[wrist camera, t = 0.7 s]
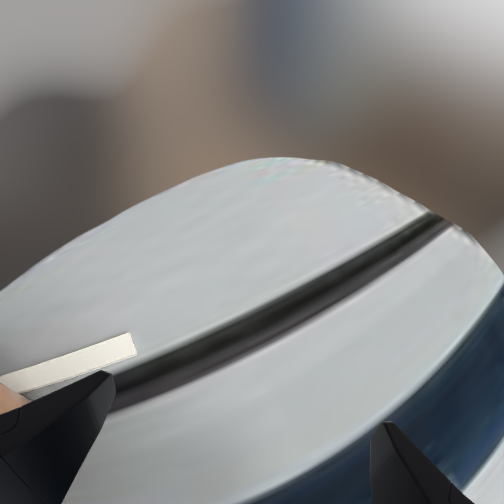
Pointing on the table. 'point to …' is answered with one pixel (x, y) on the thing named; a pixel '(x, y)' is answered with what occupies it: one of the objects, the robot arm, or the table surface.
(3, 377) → the line
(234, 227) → the table surface
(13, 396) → the tumbler
